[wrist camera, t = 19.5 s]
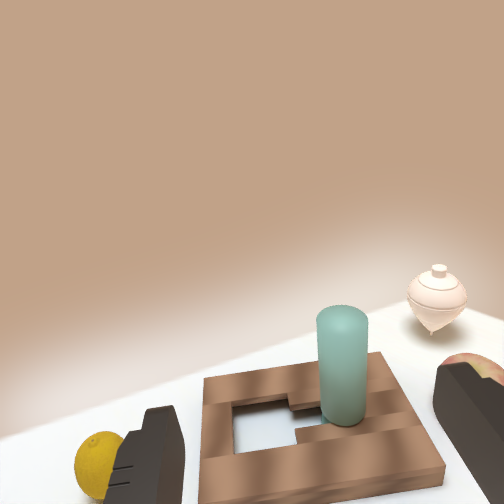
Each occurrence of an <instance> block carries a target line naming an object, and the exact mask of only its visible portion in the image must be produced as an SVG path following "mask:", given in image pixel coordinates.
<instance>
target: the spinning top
mask: <svg viewBox="0 0 504 504" xmlns="http://www.w3.org/2000/svg"><path fill="white" fill-rule="evenodd" d="M446 272H447V267H446V266H444V265H441V264H436V265H433V266H432V271H426V272H423V273H421V274H420V275H419V276H417V277H416V278H414V279H413V281H412V282H411V283H410V284H409V286H408V290H407V299H408V303H409V305H410V307H411V309H412V311H413V313H414V314H415V315H416V317H417V318H418V319H419V321H420V322H421V323H422V324H423V325H424V326H425V327H426V328H427V329H428V330H429V331H430V336H432V334H433V332H434V331H436V330H439V329H441V328H442V327H444V326H446V325H447V324H449V323H450V322H452V321H453V320H454V319H455V318H456V317H457V316H458V315H459V314H460V313H461V312H462V311H463V310H464V308H465V305H466V302H467V294H466V291H465V289H464V287H463V285H462V284H461V283H460V282H459V281H458V279H457V278H456V277H455V276H453V275H451V274H449V273H446Z"/></svg>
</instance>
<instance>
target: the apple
mask: <svg viewBox="0 0 504 504" xmlns="http://www.w3.org/2000/svg"><path fill="white" fill-rule="evenodd" d="M458 362H468V363H469V364H470V365H471V366H472V367H473V368H474V369H475V370H476V371H477V372H478V374H479V375H480V376H481V377H482V378H487V377H490V378H492V379H494V380H495V381H497V382H498V383H500V384H501V385H503V386H504V369H503V368H501V367H500V366H499V365H498V364H496V363H495V362H493V361H491V360H489V359H487V358H485V357H483V356H480V355H477V354H472V353H460V354H456V355H452V356H450V357H448V358H447V359H446V360H445V361H444V362H443V363H442V364H441V365H445V364H451V363H458Z"/></svg>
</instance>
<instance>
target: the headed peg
mask: <svg viewBox="0 0 504 504" xmlns="http://www.w3.org/2000/svg"><path fill="white" fill-rule="evenodd" d="M316 322H317V342H318V362H319V381H320V401H321V410H322V416H321V421H322V424H328V423H334V424H337V425H340V426H351V425H355V424H357V423H359V422H360V421H361V420H362V419H363V418H364V416H365V413H366V384H367V349H368V318H367V316H366V315H365V313H363V312H362V311H361V310H359V309H357V308H355V307H352V306H347V305H335V306H330V307H327V308H325V309H323V310H322V311H321V312H320V313H319V314H318V315H317V319H316Z"/></svg>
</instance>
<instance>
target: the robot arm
mask: <svg viewBox="0 0 504 504" xmlns="http://www.w3.org/2000/svg"><path fill="white" fill-rule="evenodd" d="M433 408H434V412H435V415H436V417H437V419H438V421H439V423H440V425H441V426H442V428H443V429H444V431H445V433H446V434H447V436H448V437H449V439H450V441H451V442H452V444H453V445H454V447H455V448H456V450H457V452H458V453H459V455H460V456H461V458H462V460H463V461H464V463H465V464H466V466H467V467H468V469H469V471H470V472H471V474H472V475H473V477H474V479H475V480H476V482H477V483H478V485H479V487H480V488H481V490H482V491H483V493H484V494H485V496H486V498H487V499H488V501H489V502H490V504H504V386H503V385H501V384H500V383H498V382H497V381H495V380H494V379H492V378H490V377H487V378H482V377H481V376H480V375H479V374H478V372H477V371H476V370H475V369H474V368H473V367H472V366H471V365H470V364H469V363H468V362H458V363H451V364H445V365H440V366H439V367H438V368H437V374H436V381H435V388H434V395H433ZM184 467H185V444H184V438H183V435H182V432H181V428H180V425H179V422H178V419H177V415H176V412H175V409H174V407H173V405H170V406H163V407H156V408H150V409H147V410H146V412H145V415H144V419H143V424H142V429H141V430H135V431H129V433H128V434H127V436H126V437H125V439H124V440H123V442H122V443H121V445H120V446H119V448H118V450H117V453H116V457H115V461H114V465H113V468H112V469H113V472H112V473H111V476H110V480H109V483H108V489H107V491H106V494H105V498H104V502H103V504H181V502H182V491H183V479H184Z"/></svg>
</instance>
